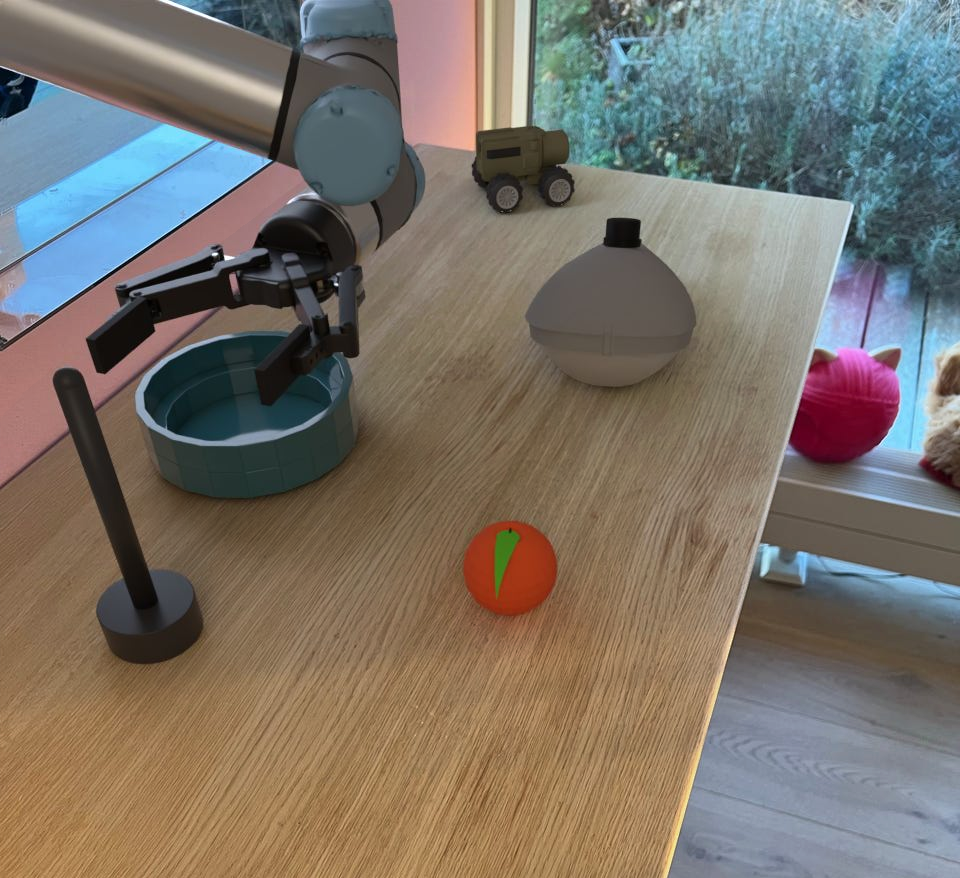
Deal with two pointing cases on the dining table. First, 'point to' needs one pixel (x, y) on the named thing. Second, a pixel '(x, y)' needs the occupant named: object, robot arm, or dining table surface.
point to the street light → (613, 311)
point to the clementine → (510, 567)
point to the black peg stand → (127, 551)
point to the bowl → (244, 419)
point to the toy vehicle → (522, 165)
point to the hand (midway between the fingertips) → (176, 372)
